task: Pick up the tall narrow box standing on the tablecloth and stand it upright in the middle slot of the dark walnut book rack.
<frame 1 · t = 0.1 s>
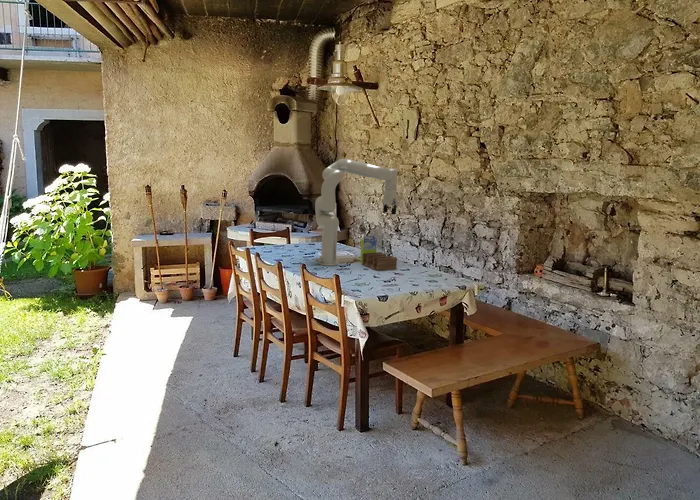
hand: (389, 213, 373), 31 cm above the table, tool pointing down, fingers open, 9 cm apart
rack: (379, 267, 353), on the table
box: (368, 262, 368), on the table
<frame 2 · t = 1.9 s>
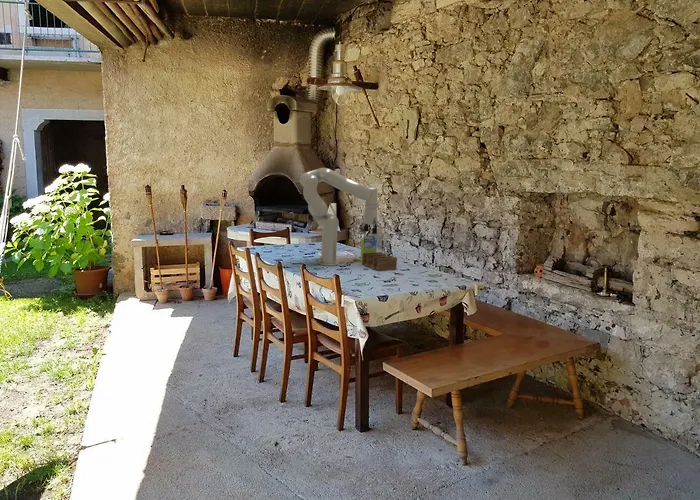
hand: (370, 232, 364), 19 cm above the table, tool pointing down, fingers open, 9 cm apart
nothing on the table moved.
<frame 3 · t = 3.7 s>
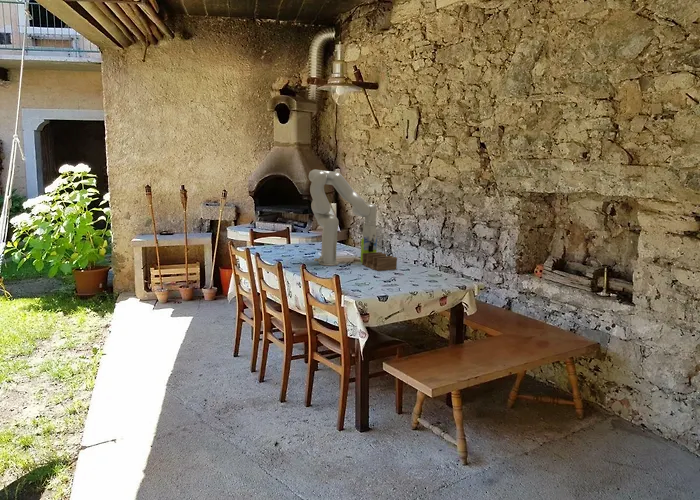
hand: (368, 250, 366), 7 cm above the table, tool pointing down, fingers closed on box, 4 cm apart
box: (368, 261, 368), on the table, touching gripper
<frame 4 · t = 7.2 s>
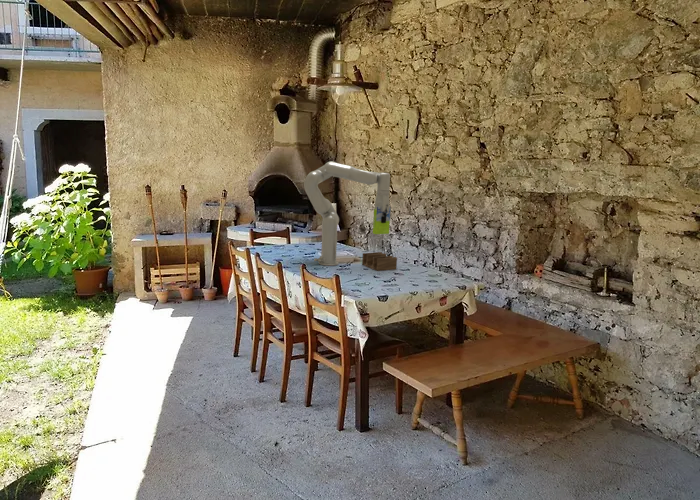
hand: (381, 222, 348), 29 cm above the table, tool pointing down, fingers closed on box, 4 cm apart
box: (380, 234, 349), point 21 cm above the table, touching gripper
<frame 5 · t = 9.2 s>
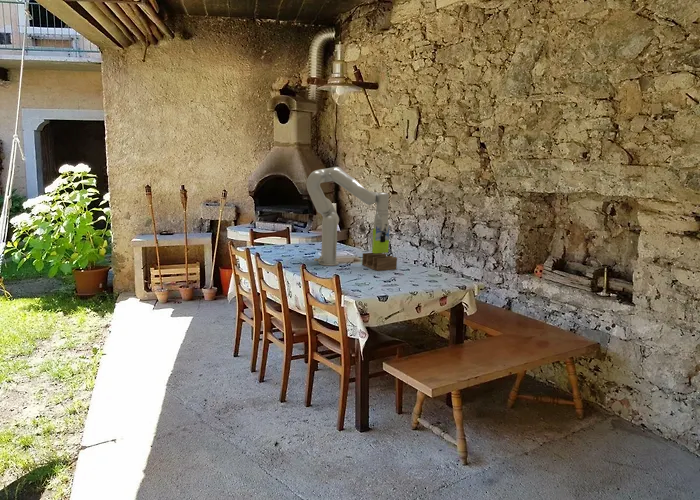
hand: (380, 241, 350), 17 cm above the table, tool pointing down, fingers closed on box, 4 cm apart
box: (380, 253, 351), point 9 cm above the table, touching gripper
when the fingers open (10 cm above the table, at t = 10.8 s): box drops 1 cm, resting on rack.
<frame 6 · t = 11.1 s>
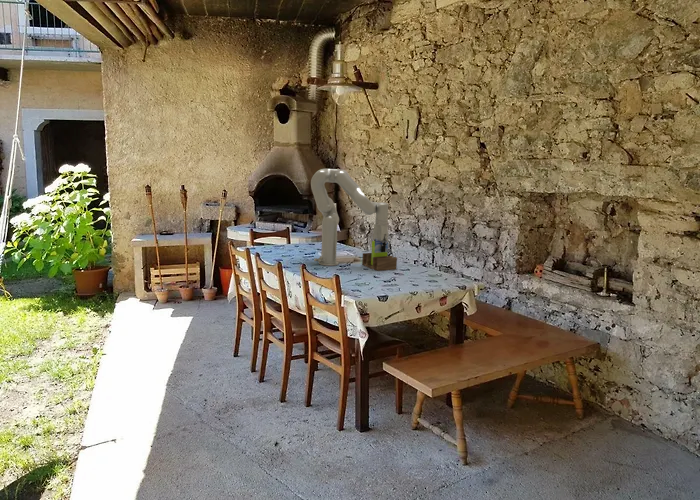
hand: (379, 250, 351), 11 cm above the table, tool pointing down, fingers open, 6 cm apart
box: (379, 265, 353), point 1 cm above the table, touching rack
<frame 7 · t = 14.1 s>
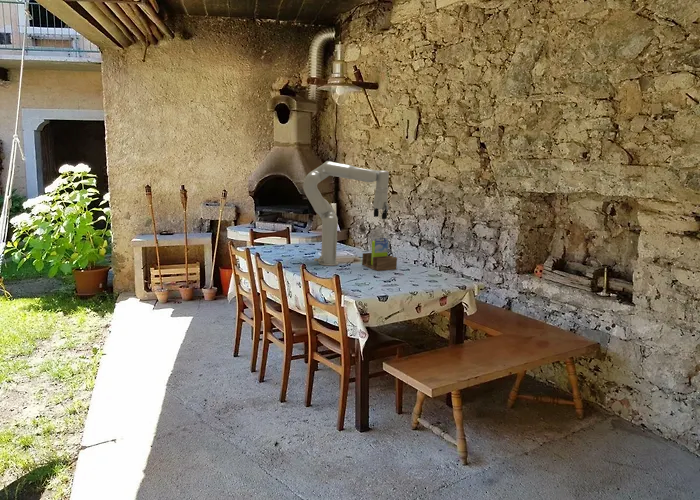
hand: (380, 217, 350), 31 cm above the table, tool pointing down, fingers open, 9 cm apart
nothing on the table moved.
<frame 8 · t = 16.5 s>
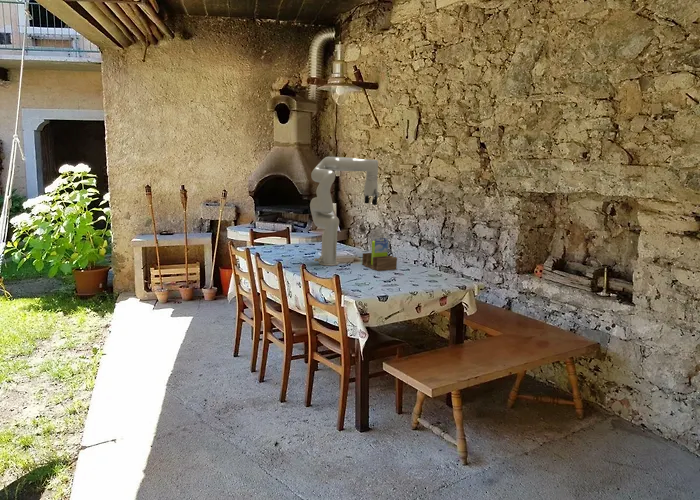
hand: (370, 204, 376), 36 cm above the table, tool pointing down, fingers open, 9 cm apart
nothing on the table moved.
at the end: box 0.1 cm off-centre on the rack, point 1.3 cm above the rack's base; box tilted 0°; the gripper is holding nothing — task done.
